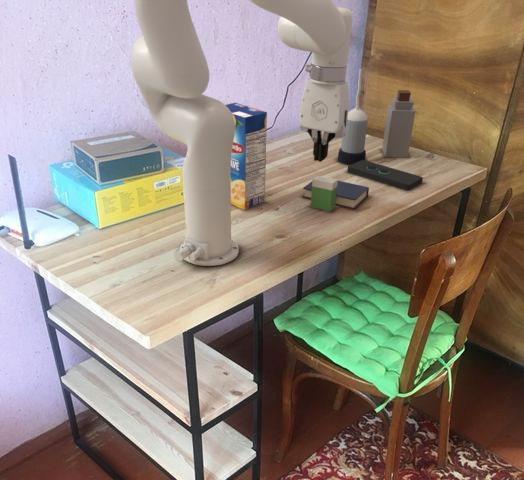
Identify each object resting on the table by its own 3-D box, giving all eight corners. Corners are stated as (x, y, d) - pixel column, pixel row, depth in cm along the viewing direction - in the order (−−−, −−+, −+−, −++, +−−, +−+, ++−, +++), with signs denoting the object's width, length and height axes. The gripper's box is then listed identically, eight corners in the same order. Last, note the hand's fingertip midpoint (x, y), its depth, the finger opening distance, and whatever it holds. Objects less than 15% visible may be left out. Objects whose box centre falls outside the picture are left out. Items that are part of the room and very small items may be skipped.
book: (354, 209, 146) (355, 199, 144) (302, 197, 151) (303, 187, 150) (367, 196, 152) (369, 187, 151) (317, 185, 158) (318, 176, 156)
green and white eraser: (335, 207, 147) (330, 211, 144) (315, 202, 149) (310, 207, 146) (337, 179, 142) (332, 183, 140) (317, 175, 144) (312, 179, 142)
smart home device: (362, 158, 171) (424, 176, 160) (362, 164, 172) (423, 182, 161) (346, 165, 166) (408, 184, 155) (346, 171, 167) (407, 191, 156)
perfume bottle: (407, 157, 177) (418, 94, 167) (385, 157, 177) (394, 94, 167) (403, 150, 183) (413, 88, 172) (382, 149, 183) (390, 88, 172)
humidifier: (346, 153, 179) (355, 64, 164) (369, 159, 175) (381, 69, 160) (332, 161, 174) (341, 69, 159) (356, 167, 170) (368, 74, 155)
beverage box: (245, 210, 144) (245, 117, 131) (215, 197, 150) (213, 107, 137) (264, 202, 148) (267, 112, 135) (235, 190, 154) (235, 102, 141)
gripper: (289, 71, 125) (283, 157, 136) (354, 82, 119) (343, 170, 130) (304, 66, 130) (298, 149, 141) (367, 76, 125) (355, 161, 136)
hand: (319, 159), depth 136 cm, fingers closed
